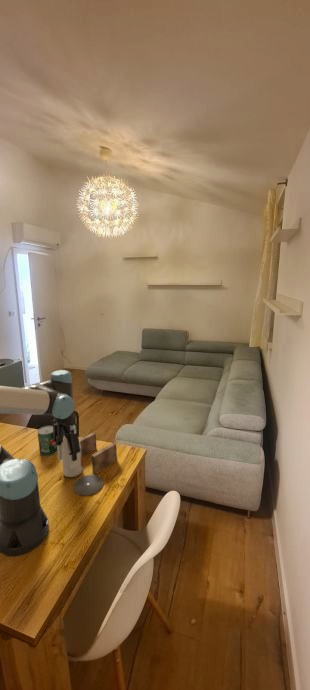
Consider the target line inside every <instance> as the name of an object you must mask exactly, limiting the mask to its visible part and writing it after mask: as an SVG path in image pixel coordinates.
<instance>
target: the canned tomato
mask: <svg viewBox="0 0 310 690" xmlns="http://www.w3.org/2000/svg"><path fill="white" fill-rule="evenodd" d="M37 438H38V441H37V442H38V447H39V455H40V456H42V457H50V456H53V455H54V454H56V453H58V450H57V445H56V442H53V425H45V426H42V427H40V428H38V430H37Z"/></svg>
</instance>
